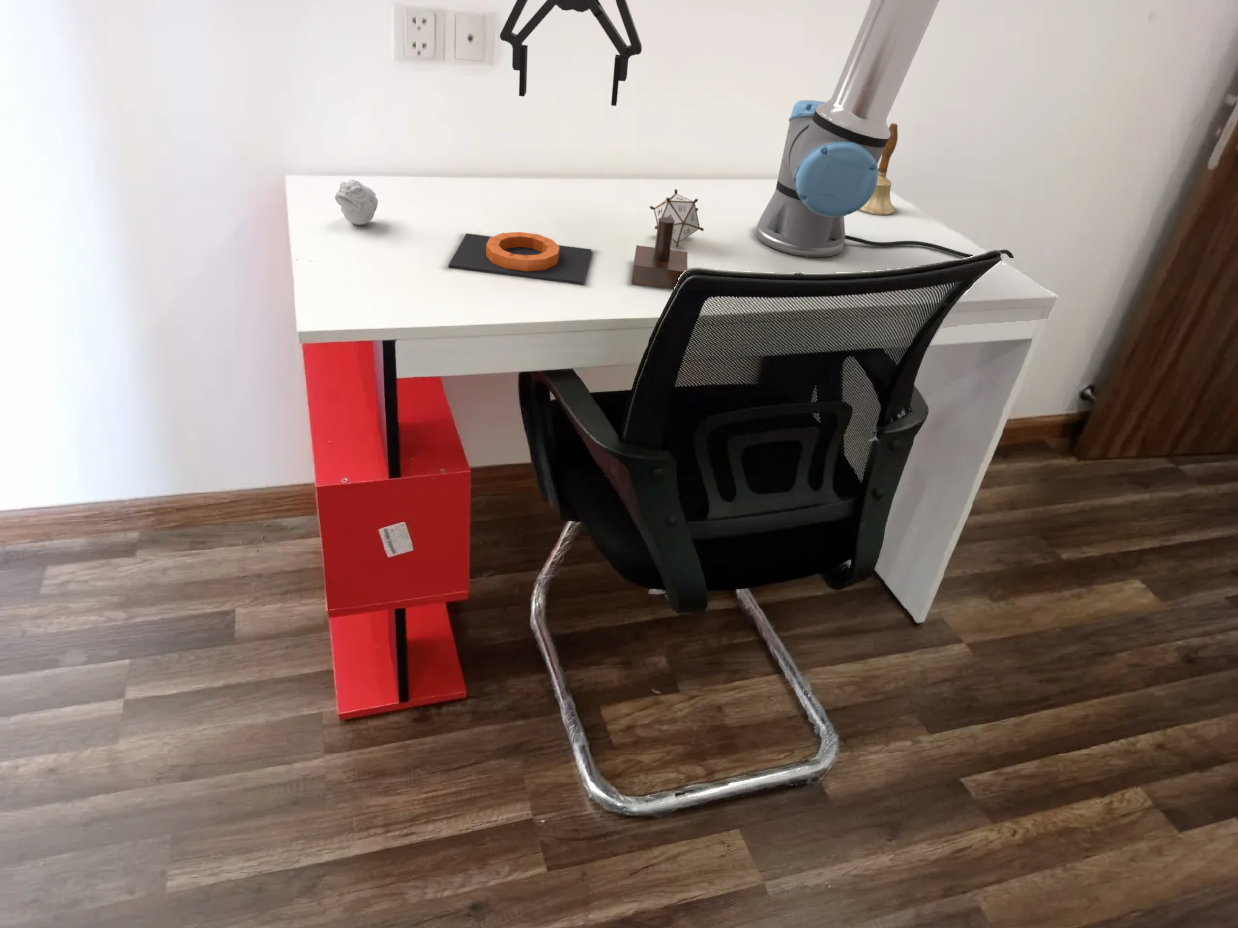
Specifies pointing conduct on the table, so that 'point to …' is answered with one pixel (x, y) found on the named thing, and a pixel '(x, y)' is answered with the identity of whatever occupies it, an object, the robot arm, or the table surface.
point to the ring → (522, 262)
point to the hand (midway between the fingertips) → (568, 99)
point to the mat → (566, 270)
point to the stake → (659, 259)
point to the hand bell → (883, 180)
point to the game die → (679, 216)
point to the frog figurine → (356, 202)
